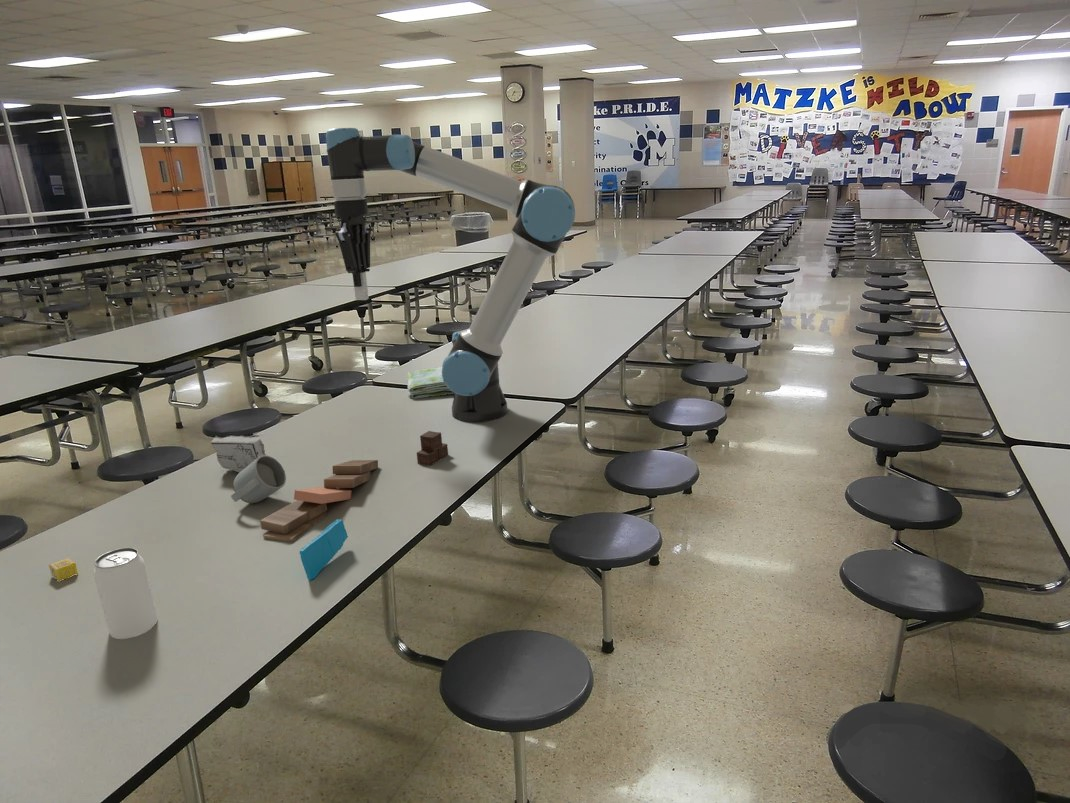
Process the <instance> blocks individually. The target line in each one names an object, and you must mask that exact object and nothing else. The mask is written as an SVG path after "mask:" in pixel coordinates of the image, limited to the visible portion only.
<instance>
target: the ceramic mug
mask: <svg viewBox="0 0 1070 803" xmlns="http://www.w3.org/2000/svg"><path fill="white" fill-rule="evenodd" d="M232 482H233V483H232V485H233V486H232V487H233V491H234V493H232V495H230V498H231V499H232V501H233V502H235V503H237V502H238V501H239V500H241V501H243V502H244V503H246V504H257V503H259V502H261V501H263V500H264V499H266V498H268V497H270V495H273V494H274V493H276V492H277V491H279V490H280V489H281V488H283V487H284V486H285V484H286V482H287V474H286V471H285V469H284V467H283V465H282V464H281V463H280V462H279V461H278V460H277V459H276V458H274V457H272V456H269V455H263V456H260V457H258V458H257V459H255V460H254V461H253V462H252V463H251V464H249V465H248V466H247V467H246V468H245V469H243V470H242V471H241V472H240V473H239V472H238V473H237V475H236V477H235V478H234V479H233V481H232Z"/></svg>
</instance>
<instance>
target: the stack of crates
mask: <svg viewBox="0 0 1070 803" xmlns="http://www.w3.org/2000/svg"><path fill="white" fill-rule="evenodd" d="M442 438H443V437H442V433H441V432H439V431H432V430H428V431H426V432H424V433H422V434H421V435H420V436H419V439H420V446H421V448H420V450H418V451H417V452H416V460H417V464H419V465H423V466H428V465H429V466H428V467H430V466H432V465H433V463H434V464H435V462H436V463H437V462H439V461H441V460H442V459H444V458H446V457H447V456H449V451H448V450H449V449H448V448H449V447H448V443H443V440H442ZM440 459H441V460H440Z"/></svg>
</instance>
